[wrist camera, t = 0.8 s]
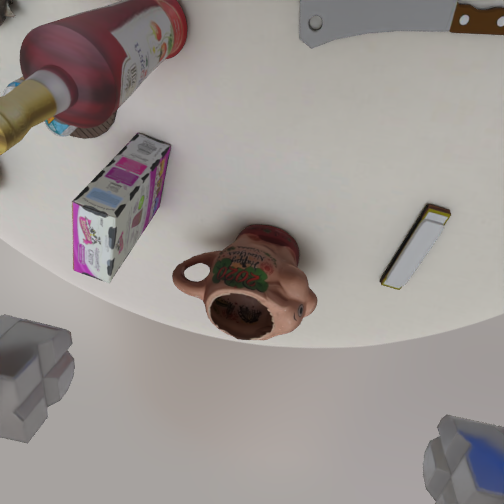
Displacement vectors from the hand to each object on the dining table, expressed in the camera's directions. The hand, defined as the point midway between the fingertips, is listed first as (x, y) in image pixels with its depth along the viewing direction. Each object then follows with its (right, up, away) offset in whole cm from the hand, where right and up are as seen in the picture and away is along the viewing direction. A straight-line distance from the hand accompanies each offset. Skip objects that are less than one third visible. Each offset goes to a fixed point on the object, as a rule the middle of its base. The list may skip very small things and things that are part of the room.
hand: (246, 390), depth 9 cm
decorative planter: (+1, +4, +53) cm, 54 cm away
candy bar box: (-14, +14, +48) cm, 52 cm away
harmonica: (+22, +4, +48) cm, 53 cm away
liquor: (-10, +28, +35) cm, 46 cm away
